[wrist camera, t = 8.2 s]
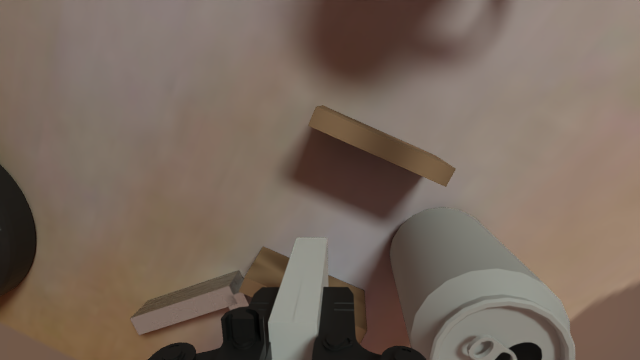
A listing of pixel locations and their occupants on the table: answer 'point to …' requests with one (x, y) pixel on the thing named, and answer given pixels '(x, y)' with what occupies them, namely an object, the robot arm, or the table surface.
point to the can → (473, 294)
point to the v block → (191, 303)
